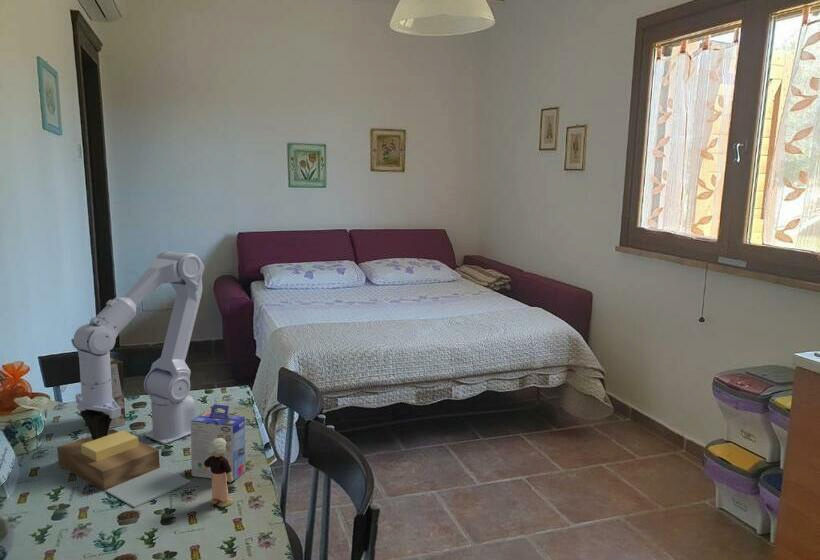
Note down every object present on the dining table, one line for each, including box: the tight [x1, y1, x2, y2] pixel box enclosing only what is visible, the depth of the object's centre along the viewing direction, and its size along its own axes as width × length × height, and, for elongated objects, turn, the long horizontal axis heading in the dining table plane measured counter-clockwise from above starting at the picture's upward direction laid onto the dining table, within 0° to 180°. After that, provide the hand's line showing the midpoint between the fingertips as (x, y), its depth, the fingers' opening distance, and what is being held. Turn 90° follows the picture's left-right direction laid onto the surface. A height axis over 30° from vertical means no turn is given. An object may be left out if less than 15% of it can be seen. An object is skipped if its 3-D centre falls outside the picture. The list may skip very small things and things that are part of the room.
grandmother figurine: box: [203, 438, 234, 508], centre depth 113 cm, size 8×4×13 cm, turn 71°
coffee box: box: [85, 356, 127, 429], centre depth 148 cm, size 9×6×16 cm
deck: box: [56, 428, 161, 492], centre depth 127 cm, size 12×18×4 cm, turn 56°
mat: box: [105, 466, 191, 509], centre depth 119 cm, size 12×10×1 cm
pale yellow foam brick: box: [81, 430, 139, 461], centre depth 126 cm, size 9×6×2 cm, turn 145°
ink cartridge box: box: [190, 403, 247, 482], centre depth 124 cm, size 10×6×14 cm, turn 78°
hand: (100, 441), depth 128 cm, fingers closed
